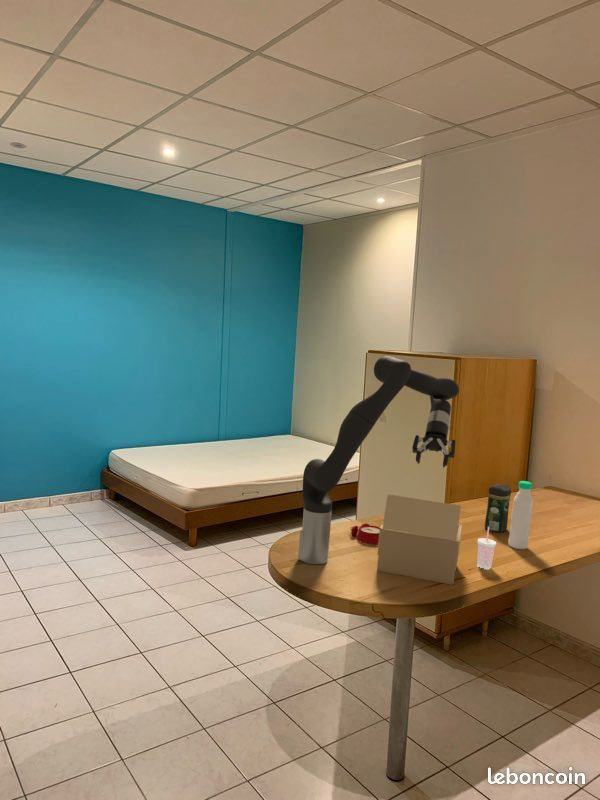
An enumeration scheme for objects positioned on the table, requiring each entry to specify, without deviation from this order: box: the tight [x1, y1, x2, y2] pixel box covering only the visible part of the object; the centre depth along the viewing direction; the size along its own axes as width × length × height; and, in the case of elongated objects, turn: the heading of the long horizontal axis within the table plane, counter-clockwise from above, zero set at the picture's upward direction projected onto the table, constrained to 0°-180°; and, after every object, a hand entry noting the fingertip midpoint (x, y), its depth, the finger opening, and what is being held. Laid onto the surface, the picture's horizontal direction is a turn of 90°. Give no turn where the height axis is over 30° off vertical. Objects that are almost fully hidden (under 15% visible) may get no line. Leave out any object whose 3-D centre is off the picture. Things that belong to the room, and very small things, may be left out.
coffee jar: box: [484, 483, 512, 533], centre depth 249 cm, size 10×8×19 cm
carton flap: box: [382, 494, 462, 541], centre depth 193 cm, size 23×11×1 cm
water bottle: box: [507, 480, 534, 550], centre depth 229 cm, size 7×7×25 cm
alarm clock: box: [349, 523, 381, 545], centre depth 227 cm, size 10×6×15 cm
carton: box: [376, 523, 463, 586], centre depth 201 cm, size 25×18×14 cm
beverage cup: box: [476, 527, 497, 570], centre depth 207 cm, size 6×6×14 cm
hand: (431, 464), depth 207 cm, fingers open, 8 cm apart
